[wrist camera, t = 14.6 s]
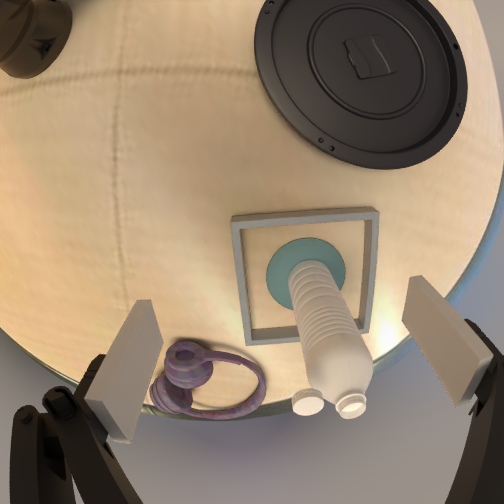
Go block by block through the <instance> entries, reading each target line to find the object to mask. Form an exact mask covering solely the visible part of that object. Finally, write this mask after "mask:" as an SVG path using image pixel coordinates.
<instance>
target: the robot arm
mask: <svg viewBox="0 0 504 504" xmlns="http://www.w3.org/2000/svg"><path fill="white" fill-rule="evenodd" d="M71 24H72V13H71V10H70V8H69V6H68V5H67V4H66V3H64V2H63V1H61V0H0V69H2V70H3V71H5V72H6V73H7V74H8V75H10V76H12V77H15V78H22V79H27V78H32V77H34V76H36V75H38V74H40V73H41V72H43V71H44V70H45V69H46V68H47V67H48V66H49V65H50V64H51V63H52V62H53V61H54V60H55V59H56V57H57V56H58V55H59V53H60V52H61V50H62V48H63V47H64V45H65V43H66V41H67V38H68V36H69V33H70V29H71ZM402 322H403V323H404V325H405V326H406V328H407V329H408V331H409V332H410V334H411V335H412V337H413V338H414V340H415V341H416V343H417V344H418V346H419V348H420V349H421V351H422V352H423V354H424V355H425V357H426V358H427V360H428V362H429V363H430V365H431V366H432V368H433V370H434V371H435V373H436V375H437V376H438V378H439V380H440V381H441V383H442V385H443V386H444V388H445V390H446V391H447V393H448V395H449V396H450V398H451V400H452V402H453V403H454V405H455V407H459V406H462V405H464V404H466V403H469V401H470V400H471V398H472V397H473V395H474V393H475V394H476V396H477V397H478V399H477V401H476V402H475V404H474V405H473V407H472V409H471V411H470V412H469V415H471V413H472V412H473V416H472V421H471V425H470V429H469V433H468V437H467V440H466V444H465V448H464V451H463V455H462V458H461V461H460V464H459V467H458V470H457V473H456V476H455V479H454V482H453V484H452V487H451V490H450V492H449V495H448V497H447V500H446V502H445V504H504V355H502V354H501V353H500V352H499V350H498V349H497V348H496V347H495V345H494V344H493V343H492V342H491V341H490V340H489V338H487V337H486V335H485V334H484V333H483V332H481V329H480V328H479V327H478V326H477V325H476V324H475V323H473V322H472V321H470V320H468V319H463V318H462V317H461V316H460V315H459V314H458V313H457V312H456V311H455V310H454V308H453V307H452V306H451V305H450V304H449V303H448V302H447V301H446V300H445V299H444V298H443V297H442V296H441V295H440V294H439V293H438V291H437V290H436V289H435V288H434V287H433V286H432V285H431V284H430V283H429V282H428V281H427V280H426V279H425V278H424V277H423V276H422V275H421V276H413V277H410V278H409V285H408V290H407V296H406V301H405V306H404V311H403V316H402ZM163 343H164V342H163V339H162V336H161V333H160V330H159V326H158V323H157V320H156V316H155V313H154V310H153V306H152V303H151V300H137V301H136V303H135V304H134V306H133V308H132V310H131V311H130V313H129V315H128V317H127V318H126V320H125V322H124V324H123V325H122V327H121V329H120V331H119V333H118V334H117V336H116V338H115V340H114V342H113V343H112V345H111V347H110V349H109V351H108V353H107V355H104V354H99V355H98V356H97V357H96V358H95V359H94V360H92V361H91V363H90V365H89V367H88V369H87V371H86V372H85V374H84V376H83V378H82V380H81V381H80V383H79V385H78V387H77V389H76V391H75V393H74V395H73V394H72V393H71V391H70V390H69V388H67V387H65V386H57V387H54V388H52V389H50V390H49V391H48V392H47V393H46V394H45V395H44V397H43V399H42V405H43V406H44V407H45V409H46V410H47V411H48V413H39V412H38V411H37V409H36V408H35V407H34V406H32V405H26V406H23V407H21V408H20V409H18V410H17V412H16V413H15V415H14V419H13V427H12V437H11V451H10V504H76V501H75V495H74V489H73V482H72V477H73V479H74V481H75V484H76V486H77V489H78V491H79V493H80V495H81V498H82V500H83V502H84V504H143V502H142V501H141V499H140V498H139V496H138V495H137V493H136V492H135V490H134V488H133V487H132V485H131V484H130V482H129V480H128V479H127V477H126V475H125V473H124V472H123V470H122V468H121V467H120V465H119V463H118V461H117V459H116V458H115V456H114V454H113V452H112V450H111V448H110V446H109V444H108V443H107V442H106V439H107V436H108V434H109V435H110V436H111V438H112V439H113V440H114V441H116V442H122V443H128V444H131V441H132V438H133V434H134V431H135V427H136V424H137V421H138V418H139V415H140V412H141V408H142V405H143V402H144V399H145V396H146V393H147V390H148V387H149V384H150V381H151V378H152V375H153V372H154V369H155V366H156V363H157V360H158V357H159V354H160V351H161V348H162V346H163ZM71 474H72V475H71Z"/></svg>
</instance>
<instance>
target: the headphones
mask: <svg viewBox="0 0 504 504" xmlns="http://www.w3.org/2000/svg"><path fill="white" fill-rule="evenodd" d="M212 361H224V362H230V363H235V364H238V365H240V364H243V365H244V366H246V367H248V368H249V369H251V370H252V371H253V372H254V373H255V374H256V375H257V377H258V379H259V385H258V388H257V390H256V391H255V392H254V394H253V395H252V396H251V397H250V398H249V399H248V400H247V401H246V402H244V403H243V404H241V405H239V406H237V407H235V408H232V409H229V410H226V411H220V412H202V410H198V409H194V408H191V405H192V402H193V397H192V393H191V390H190V388H196V387H199V386H201V385H203V384H205V383H206V382H207V381H208V380H209V379H210V377H211V376H212V373H213V364H212ZM164 366H165V373H163V374H162V375H160V376H159V377H157V378H156V379H155V381H154V383H153V384H152V385H151V386H150V391H149V392H150V397H151V400H152V402H153V403H154V405H155V406H156V407H157V408H158V409H159V410H161V411H163V412H166V413H167V412H170V413H172V414H178V413H181V412H183V413H185V414H188V415H191V416H195V417H200V418H201V417H203V418H209V419H230V418H236V417H240V416H244V415H246V414H249V413H251V412H252V411H254V410H255V409H257V408H258V407H259V405H261V404H262V402H263V400H264V398H265V395H266V384H265V380H264V376H263V373H262V371H261V369H260V368H259V367H258V366H257V365H256V364H255V363H253V362H251V361H249V360H247V359H245V358H242V357H241V356H238V355H235V354H231V353H227V352H220V351H211V350H206V349H204V348H203V347H201V346H200V345H199V344H197V343H194V342H190V341H183V342H178V343H176V344H174V345H172V346H171V347H170V348H169V349H168V350H167V352H166V358H165V360H164Z"/></svg>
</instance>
